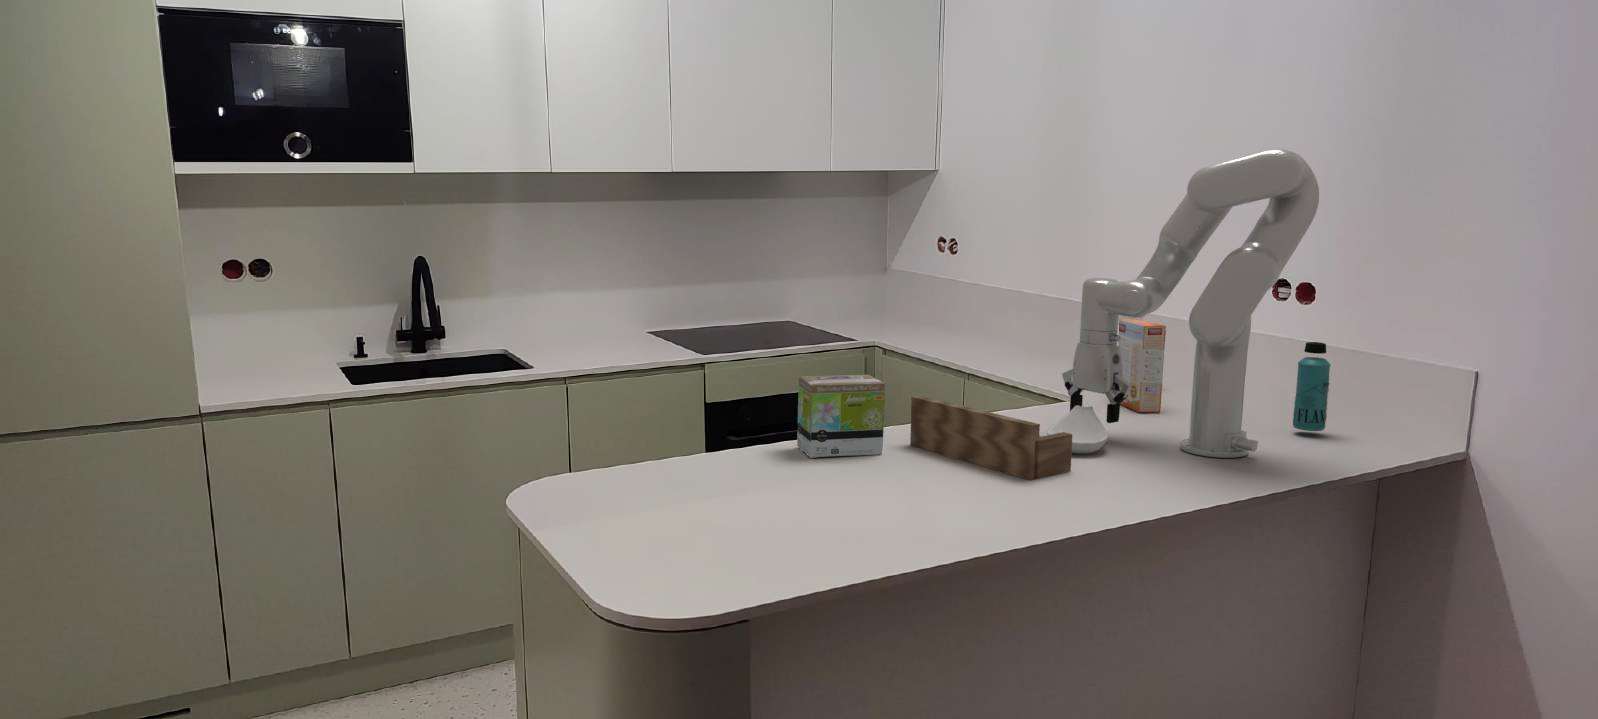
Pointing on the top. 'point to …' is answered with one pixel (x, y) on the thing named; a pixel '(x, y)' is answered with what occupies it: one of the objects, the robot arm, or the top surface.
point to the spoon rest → (1082, 430)
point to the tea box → (840, 415)
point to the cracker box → (1142, 363)
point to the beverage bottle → (1312, 390)
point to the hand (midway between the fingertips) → (1093, 417)
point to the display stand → (988, 439)
